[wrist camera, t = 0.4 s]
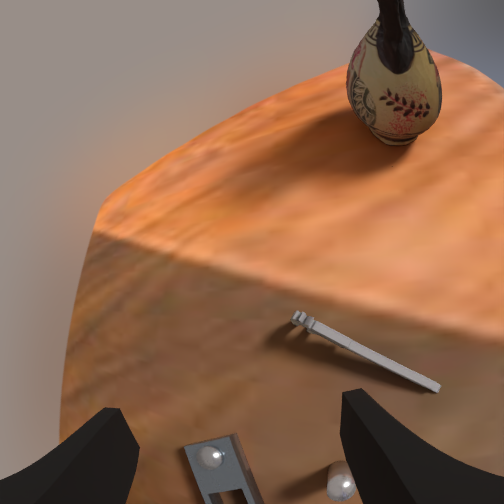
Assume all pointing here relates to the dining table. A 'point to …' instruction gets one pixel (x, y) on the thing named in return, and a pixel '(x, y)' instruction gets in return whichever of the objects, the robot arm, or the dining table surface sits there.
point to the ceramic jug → (394, 79)
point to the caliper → (361, 350)
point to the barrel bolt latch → (222, 469)
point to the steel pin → (340, 481)
